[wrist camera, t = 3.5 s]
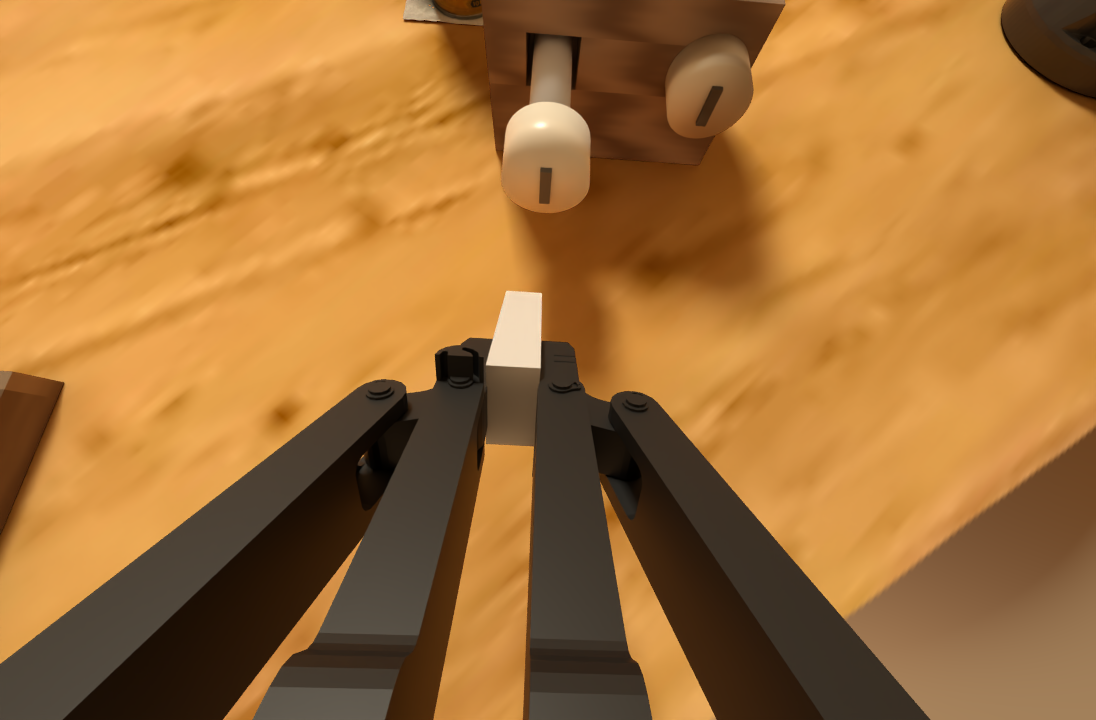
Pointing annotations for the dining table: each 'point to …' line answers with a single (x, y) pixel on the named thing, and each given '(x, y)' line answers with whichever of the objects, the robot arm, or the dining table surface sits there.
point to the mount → (635, 68)
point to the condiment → (445, 11)
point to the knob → (547, 136)
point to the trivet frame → (21, 428)
